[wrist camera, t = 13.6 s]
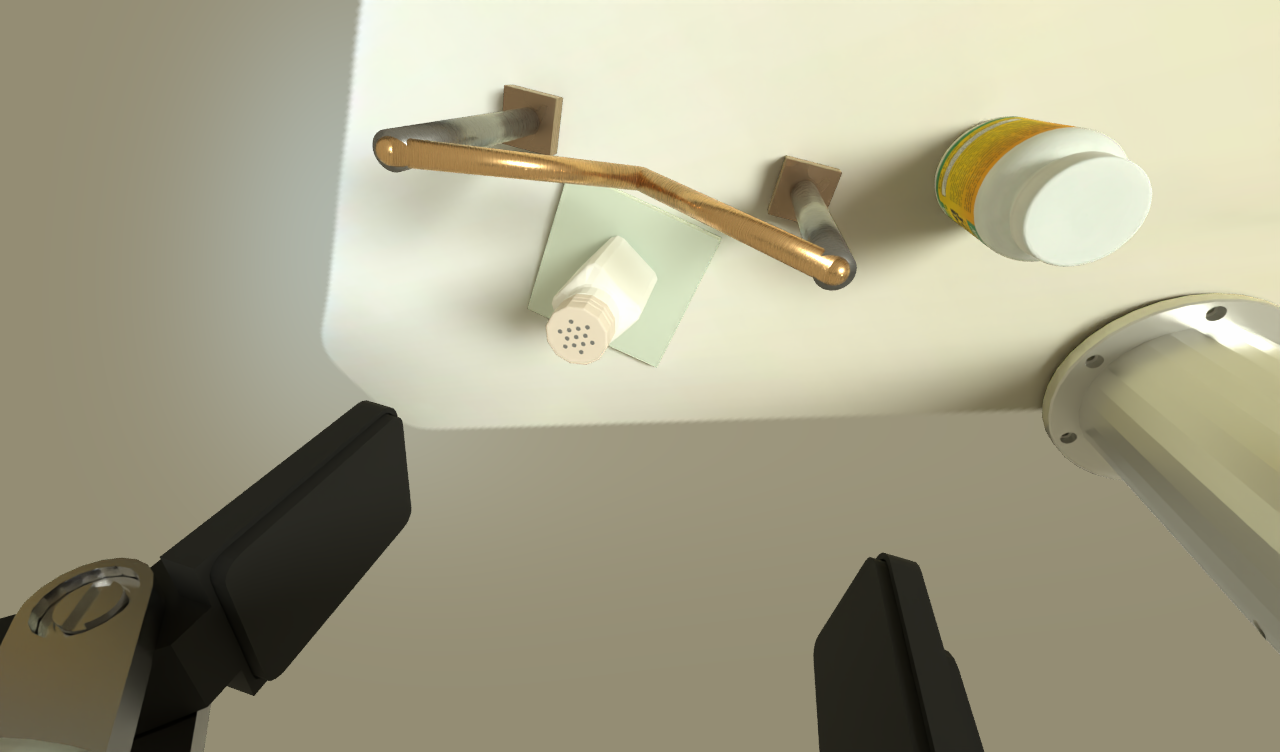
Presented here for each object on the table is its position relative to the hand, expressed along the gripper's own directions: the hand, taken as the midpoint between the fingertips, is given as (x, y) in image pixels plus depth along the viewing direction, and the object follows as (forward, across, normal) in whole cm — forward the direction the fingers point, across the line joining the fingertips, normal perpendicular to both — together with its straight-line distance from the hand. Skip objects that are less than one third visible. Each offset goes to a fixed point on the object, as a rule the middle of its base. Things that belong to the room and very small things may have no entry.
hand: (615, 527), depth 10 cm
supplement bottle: (+25, -13, -6) cm, 29 cm away
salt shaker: (+24, +6, +4) cm, 25 cm away
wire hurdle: (+24, +4, -3) cm, 25 cm away
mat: (+24, +6, +4) cm, 26 cm away
